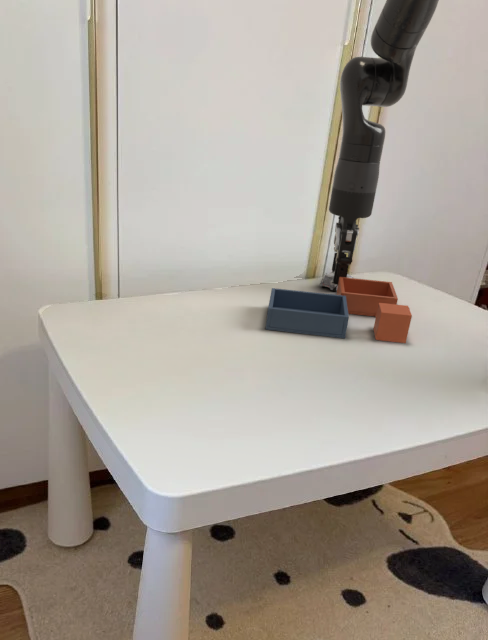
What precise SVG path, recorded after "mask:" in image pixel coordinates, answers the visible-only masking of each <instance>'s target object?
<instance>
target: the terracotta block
mask: <svg viewBox="0 0 488 640" xmlns="http://www.w3.org/2000/svg"><path fill="white" fill-rule="evenodd" d="M412 318H413V314H412V312H411V310H410V307H409V305H406V304H397V305H396V304H386V303H379V304H378V309H377V313H376V317H375V320H374V324H373V328H372V329H373V334H374V339H375V340H376V341H382V342H392V343H398V344H399V343H400V344H406V343H407V339H408V335H409V331H410V326H411V322H412Z"/></svg>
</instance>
